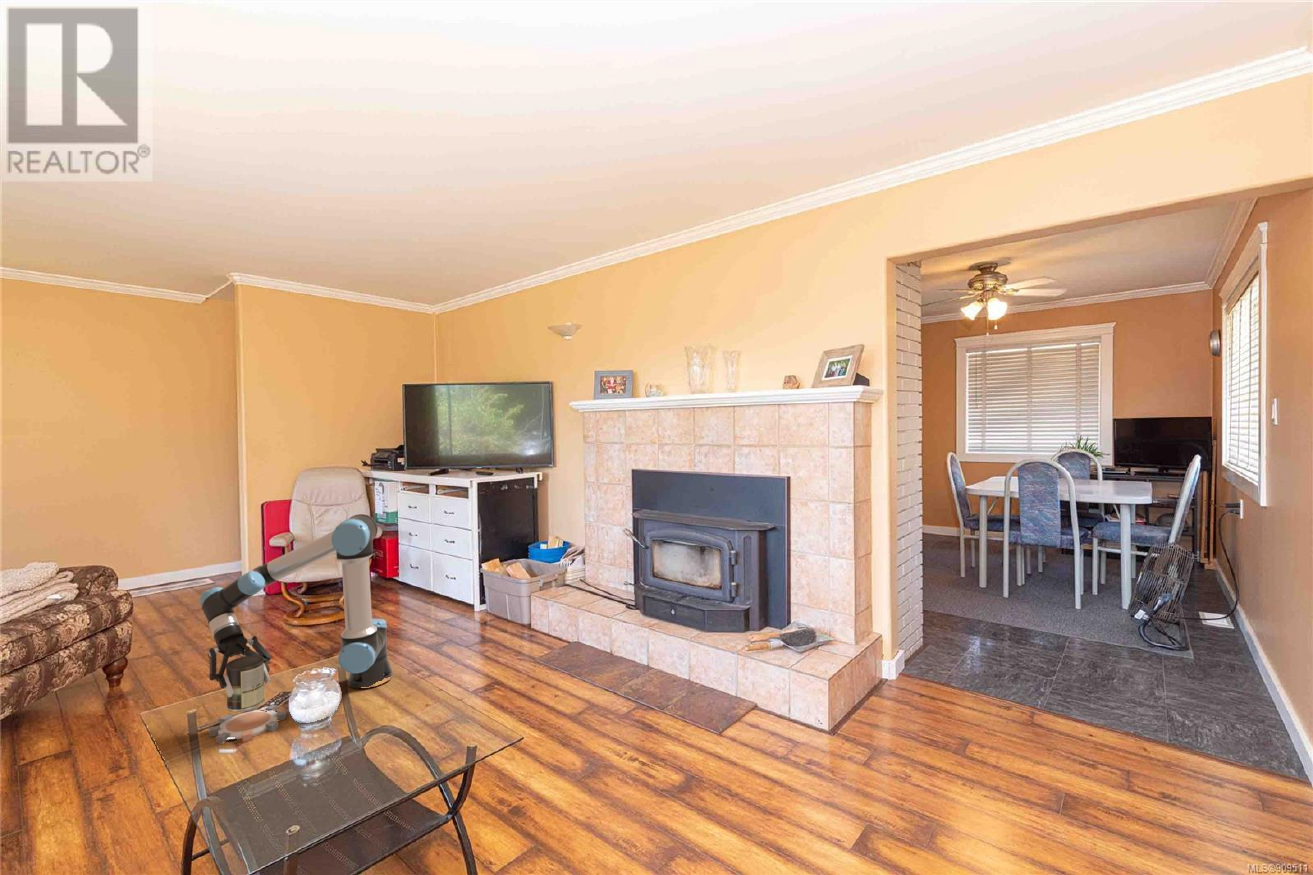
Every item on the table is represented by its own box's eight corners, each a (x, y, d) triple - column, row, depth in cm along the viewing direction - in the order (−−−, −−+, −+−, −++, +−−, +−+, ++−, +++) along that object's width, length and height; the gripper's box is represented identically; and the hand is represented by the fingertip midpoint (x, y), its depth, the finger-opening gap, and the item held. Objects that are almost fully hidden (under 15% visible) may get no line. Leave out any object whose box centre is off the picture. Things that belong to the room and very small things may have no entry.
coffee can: (221, 714, 186) (220, 670, 186) (232, 699, 196) (231, 657, 195) (260, 709, 190) (259, 665, 189) (268, 694, 199) (267, 653, 199)
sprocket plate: (212, 721, 196) (212, 715, 196) (285, 704, 207) (284, 699, 207) (206, 751, 179) (206, 744, 179) (286, 731, 190) (286, 725, 190)
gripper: (259, 626, 210) (283, 681, 202) (182, 647, 191) (205, 709, 183) (267, 614, 207) (291, 669, 199) (189, 634, 188) (212, 696, 180)
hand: (250, 688), depth 191 cm, fingers closed on coffee can, 10 cm apart
